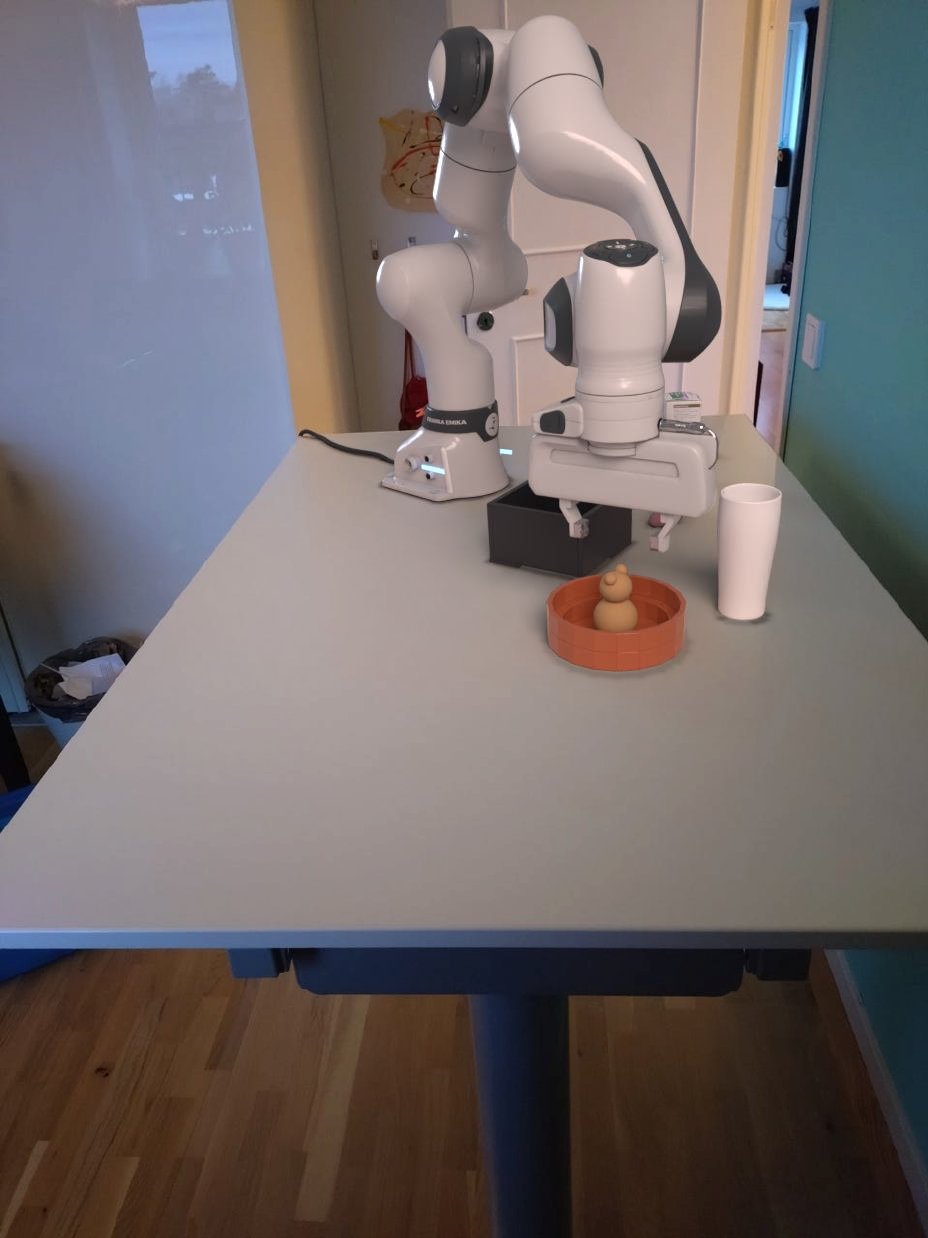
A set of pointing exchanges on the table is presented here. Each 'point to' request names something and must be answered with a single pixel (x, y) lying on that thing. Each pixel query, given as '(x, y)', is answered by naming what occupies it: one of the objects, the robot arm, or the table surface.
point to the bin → (553, 533)
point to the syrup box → (682, 406)
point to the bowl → (608, 649)
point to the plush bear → (615, 603)
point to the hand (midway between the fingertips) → (618, 543)
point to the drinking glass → (746, 547)
